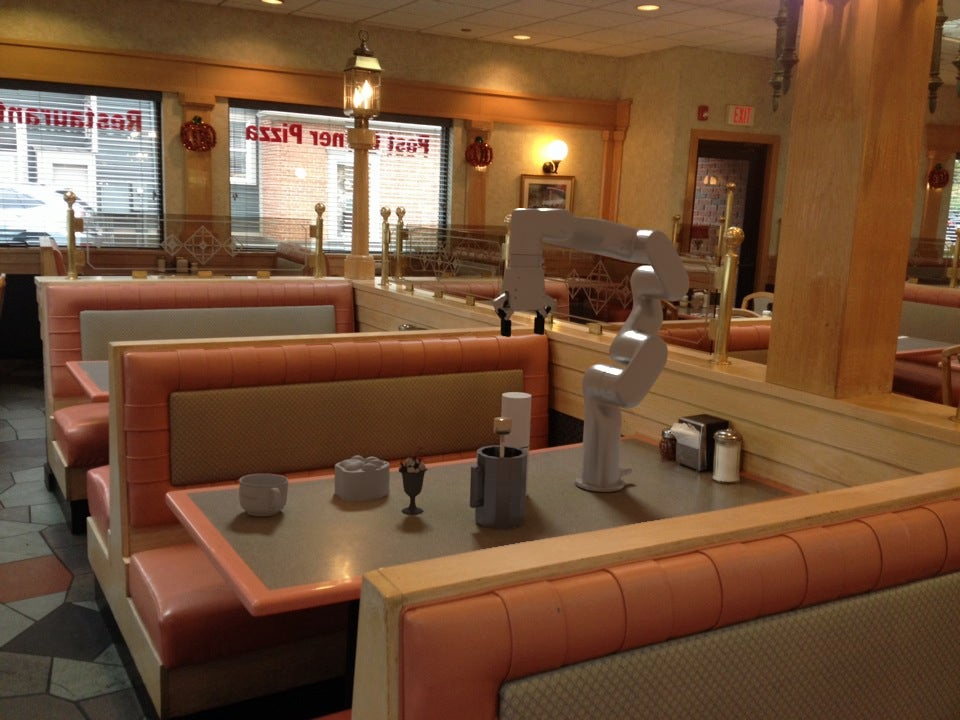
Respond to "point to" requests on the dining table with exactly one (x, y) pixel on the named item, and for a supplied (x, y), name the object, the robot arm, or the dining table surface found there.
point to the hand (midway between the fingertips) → (522, 335)
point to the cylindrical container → (518, 421)
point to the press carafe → (499, 487)
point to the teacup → (263, 493)
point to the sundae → (413, 481)
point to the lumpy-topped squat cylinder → (362, 479)
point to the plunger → (502, 430)
